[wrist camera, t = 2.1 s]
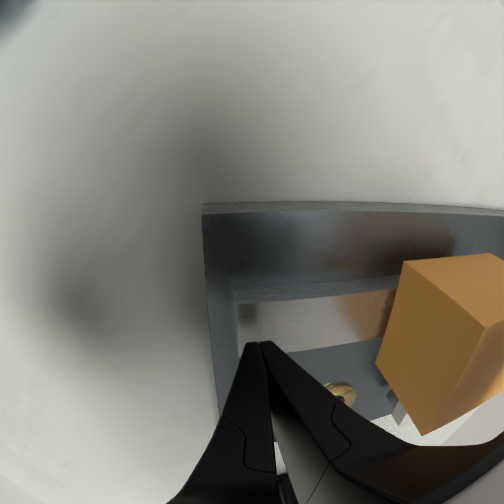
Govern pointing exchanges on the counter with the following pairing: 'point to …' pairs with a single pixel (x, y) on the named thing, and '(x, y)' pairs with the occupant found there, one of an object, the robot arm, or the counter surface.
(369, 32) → the counter surface
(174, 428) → the counter surface
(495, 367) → the divider leg
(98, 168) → the counter surface
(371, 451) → the robot arm
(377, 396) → the hole plate
